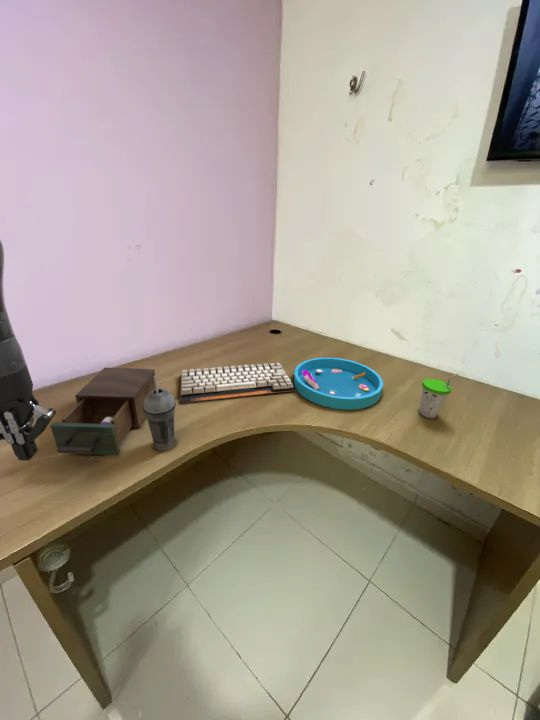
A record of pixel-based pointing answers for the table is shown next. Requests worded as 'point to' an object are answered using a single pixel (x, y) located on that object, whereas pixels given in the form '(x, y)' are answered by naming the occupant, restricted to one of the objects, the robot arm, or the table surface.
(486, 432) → the table surface
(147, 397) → the beverage cup
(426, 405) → the cup
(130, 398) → the cabinet
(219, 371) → the mechanical keyboard
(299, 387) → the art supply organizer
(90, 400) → the drawer
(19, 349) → the robot arm
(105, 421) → the glue stick
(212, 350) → the table surface
